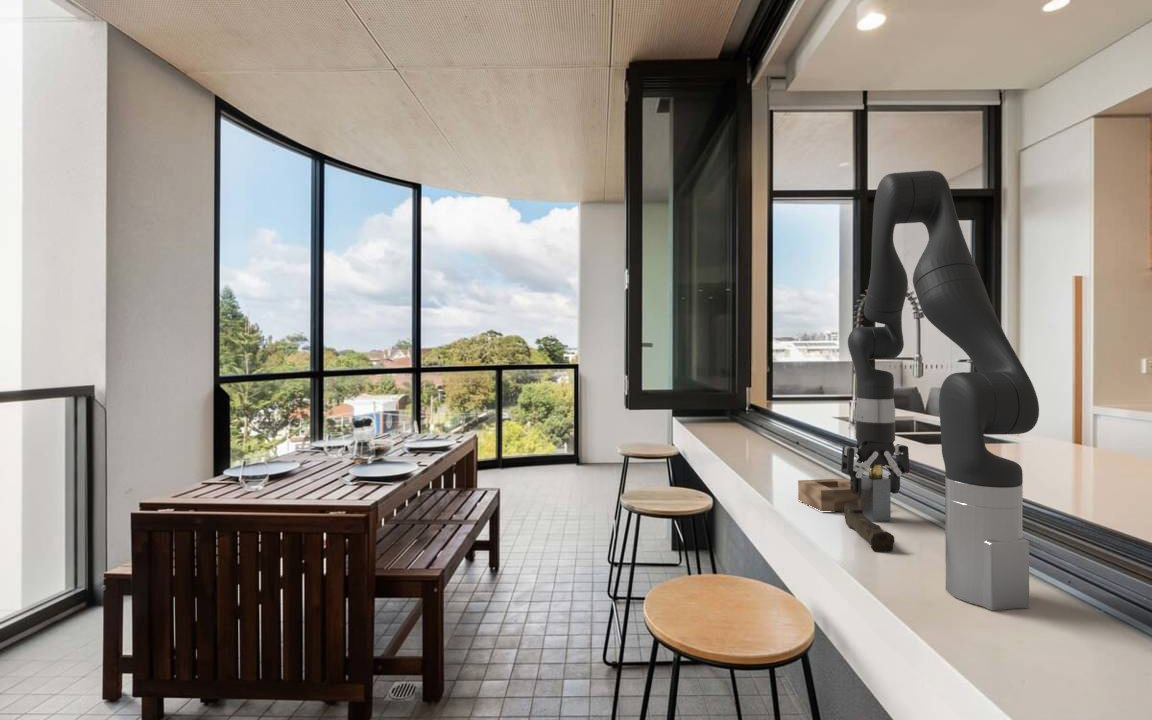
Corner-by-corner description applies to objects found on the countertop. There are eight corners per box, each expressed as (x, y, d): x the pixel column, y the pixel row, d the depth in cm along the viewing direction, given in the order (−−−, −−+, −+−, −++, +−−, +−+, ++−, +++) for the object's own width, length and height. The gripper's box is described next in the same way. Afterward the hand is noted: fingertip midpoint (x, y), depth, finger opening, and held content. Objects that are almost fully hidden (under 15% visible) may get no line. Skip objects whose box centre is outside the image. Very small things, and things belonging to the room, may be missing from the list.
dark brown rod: (895, 554, 100) (895, 529, 100) (871, 553, 100) (871, 527, 100) (860, 522, 118) (860, 501, 118) (840, 521, 119) (840, 500, 119)
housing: (870, 510, 126) (870, 488, 126) (821, 512, 125) (821, 490, 125) (844, 498, 136) (844, 478, 136) (798, 500, 135) (798, 480, 135)
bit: (890, 521, 118) (890, 465, 118) (873, 522, 118) (873, 465, 118) (878, 515, 122) (878, 461, 122) (861, 516, 122) (861, 462, 122)
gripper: (855, 422, 115) (855, 499, 115) (918, 420, 117) (918, 496, 117) (834, 417, 123) (834, 490, 123) (893, 416, 124) (893, 487, 125)
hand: (875, 493), depth 120 cm, fingers open, 8 cm apart
